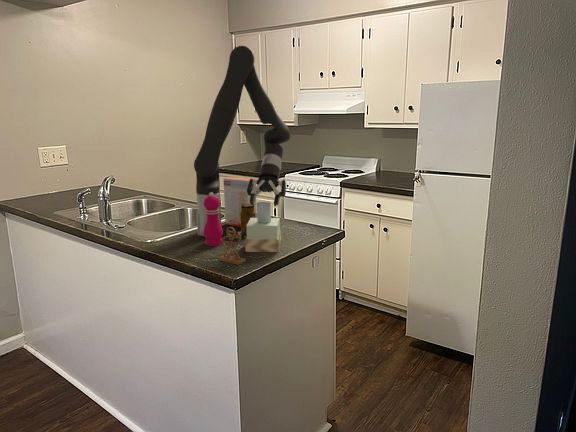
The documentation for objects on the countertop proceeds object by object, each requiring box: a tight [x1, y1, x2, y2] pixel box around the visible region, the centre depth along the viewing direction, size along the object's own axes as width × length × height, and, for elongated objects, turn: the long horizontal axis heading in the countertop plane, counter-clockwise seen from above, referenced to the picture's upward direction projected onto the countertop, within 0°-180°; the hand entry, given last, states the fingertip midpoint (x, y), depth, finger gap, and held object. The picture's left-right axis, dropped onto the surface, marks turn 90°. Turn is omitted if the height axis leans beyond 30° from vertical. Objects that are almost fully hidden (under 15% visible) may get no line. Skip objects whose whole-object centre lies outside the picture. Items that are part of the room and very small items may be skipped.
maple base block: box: [244, 229, 282, 253], centre depth 162 cm, size 12×12×5 cm
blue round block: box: [256, 201, 272, 223], centre depth 159 cm, size 5×5×7 cm
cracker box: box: [223, 176, 257, 228], centre depth 189 cm, size 14×6×21 cm, turn 53°
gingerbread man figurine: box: [218, 226, 247, 266], centre depth 147 cm, size 9×4×12 cm, turn 58°
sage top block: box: [246, 217, 281, 239], centre depth 161 cm, size 11×11×5 cm
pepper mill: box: [203, 192, 224, 247], centre depth 164 cm, size 7×7×20 cm
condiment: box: [236, 204, 256, 238], centre depth 178 cm, size 7×8×12 cm
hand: (263, 204), depth 158 cm, fingers open, 8 cm apart
